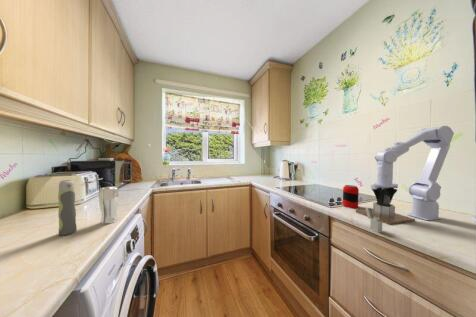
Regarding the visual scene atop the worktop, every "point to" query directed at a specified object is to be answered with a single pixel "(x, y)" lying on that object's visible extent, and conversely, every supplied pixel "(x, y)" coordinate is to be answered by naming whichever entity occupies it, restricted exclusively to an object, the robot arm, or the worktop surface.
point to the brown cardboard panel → (386, 214)
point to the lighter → (374, 221)
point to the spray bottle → (67, 208)
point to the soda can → (350, 196)
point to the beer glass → (109, 204)
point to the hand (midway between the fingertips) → (383, 203)
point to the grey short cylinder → (385, 201)
